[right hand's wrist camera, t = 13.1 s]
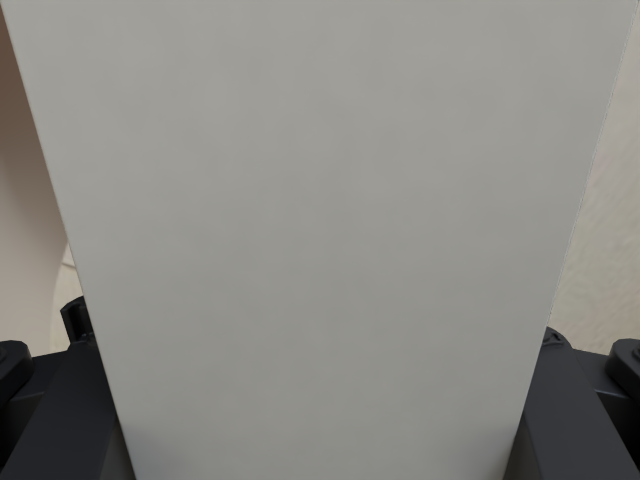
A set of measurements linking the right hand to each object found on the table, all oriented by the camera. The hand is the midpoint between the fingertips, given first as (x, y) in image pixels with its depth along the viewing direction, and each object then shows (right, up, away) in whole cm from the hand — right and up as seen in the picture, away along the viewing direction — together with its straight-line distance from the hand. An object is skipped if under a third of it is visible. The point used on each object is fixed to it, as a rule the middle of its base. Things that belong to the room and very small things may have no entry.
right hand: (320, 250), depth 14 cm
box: (0, +8, -2) cm, 8 cm away
